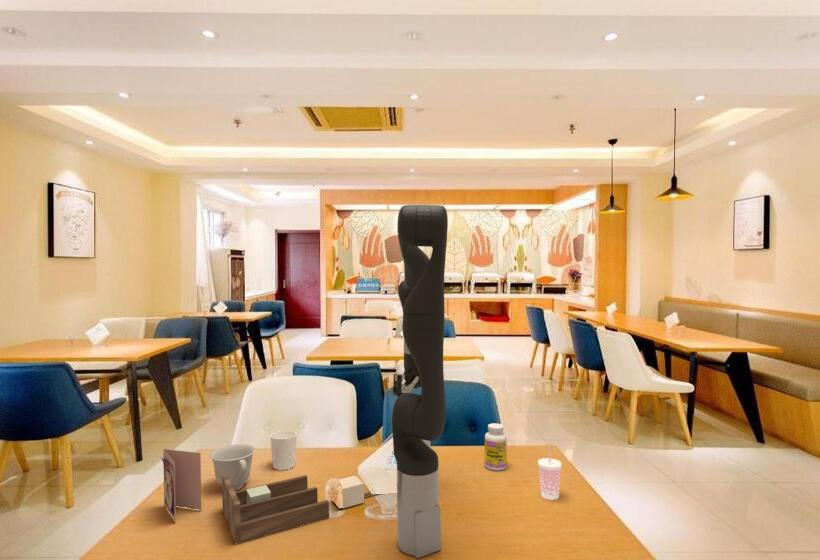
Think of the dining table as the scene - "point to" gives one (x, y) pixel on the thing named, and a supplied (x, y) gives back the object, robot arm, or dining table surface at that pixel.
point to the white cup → (283, 449)
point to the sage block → (257, 494)
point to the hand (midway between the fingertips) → (417, 408)
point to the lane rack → (271, 508)
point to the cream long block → (353, 491)
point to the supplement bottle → (495, 447)
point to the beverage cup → (549, 477)
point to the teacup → (233, 463)
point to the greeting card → (181, 480)
